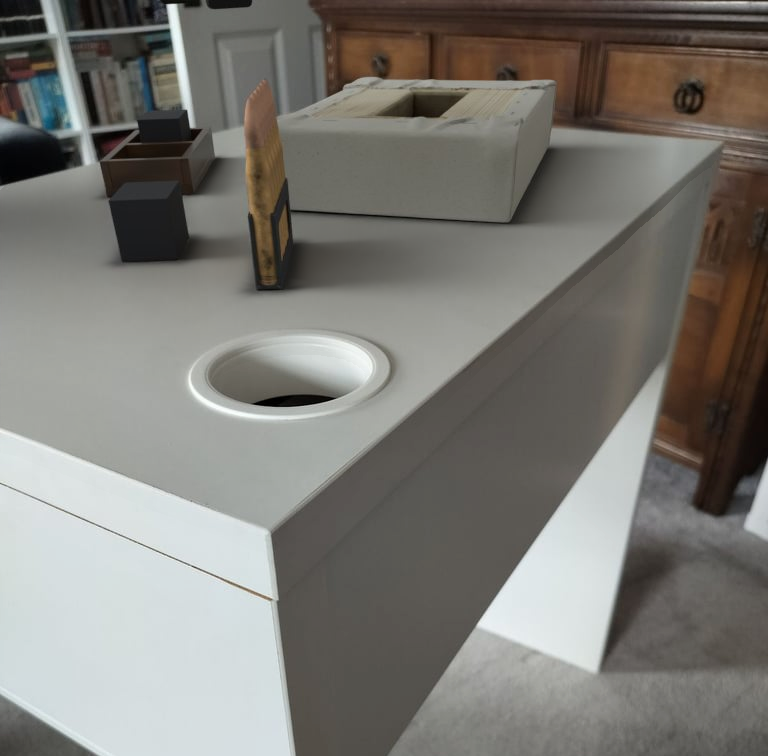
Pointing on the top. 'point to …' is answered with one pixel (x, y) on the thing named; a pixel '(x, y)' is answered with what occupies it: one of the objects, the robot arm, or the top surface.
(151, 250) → the black block
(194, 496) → the top surface
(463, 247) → the top surface
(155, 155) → the tray
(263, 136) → the ammunition clip
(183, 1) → the robot arm
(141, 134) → the charcoal rectangular block
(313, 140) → the box
